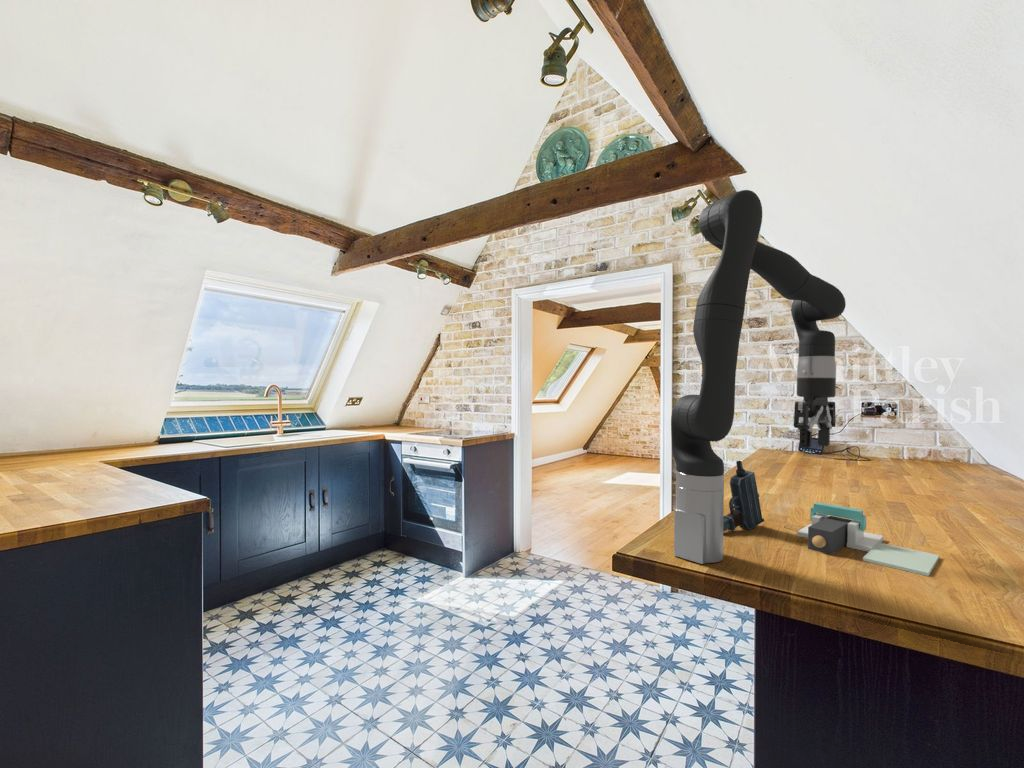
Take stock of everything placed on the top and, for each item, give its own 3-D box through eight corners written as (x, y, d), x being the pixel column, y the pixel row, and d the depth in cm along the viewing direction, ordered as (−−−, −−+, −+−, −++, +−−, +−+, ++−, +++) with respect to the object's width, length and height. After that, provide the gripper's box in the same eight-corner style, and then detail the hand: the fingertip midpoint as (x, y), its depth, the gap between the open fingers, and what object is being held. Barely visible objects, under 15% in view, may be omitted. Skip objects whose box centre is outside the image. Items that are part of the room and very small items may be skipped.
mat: (928, 576, 87) (928, 573, 87) (862, 560, 94) (862, 557, 94) (939, 558, 96) (939, 555, 96) (878, 545, 103) (878, 542, 103)
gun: (702, 475, 110) (744, 455, 116) (715, 541, 112) (755, 517, 118) (712, 477, 107) (753, 457, 114) (724, 544, 109) (764, 520, 116)
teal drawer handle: (863, 531, 102) (863, 512, 102) (810, 520, 110) (810, 503, 110) (866, 528, 104) (866, 510, 103) (813, 518, 111) (814, 501, 111)
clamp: (871, 552, 99) (871, 529, 99) (797, 535, 109) (797, 514, 109) (883, 540, 107) (883, 518, 107) (813, 525, 117) (813, 506, 117)
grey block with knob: (830, 556, 97) (830, 532, 97) (806, 550, 100) (806, 527, 100) (853, 541, 106) (853, 519, 106) (831, 536, 110) (831, 515, 110)
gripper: (818, 375, 100) (817, 450, 100) (848, 377, 108) (847, 446, 108) (783, 375, 107) (781, 446, 107) (813, 377, 114) (812, 443, 114)
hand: (814, 446), depth 107 cm, fingers open, 8 cm apart
